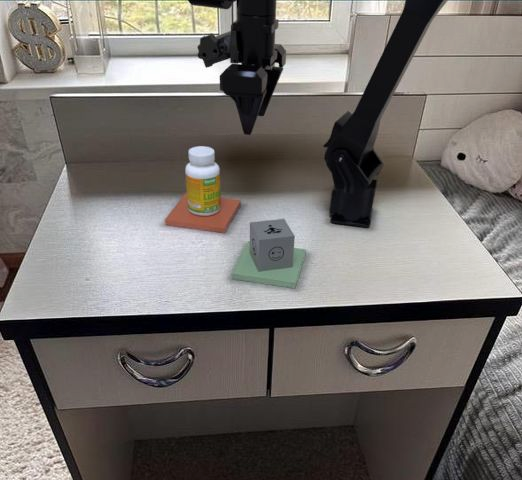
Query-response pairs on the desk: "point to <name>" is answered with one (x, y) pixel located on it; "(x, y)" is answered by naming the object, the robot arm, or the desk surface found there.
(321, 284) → the desk surface
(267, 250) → the dice cube
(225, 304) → the desk surface
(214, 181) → the supplement bottle
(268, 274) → the green mat
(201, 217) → the terracotta mat
